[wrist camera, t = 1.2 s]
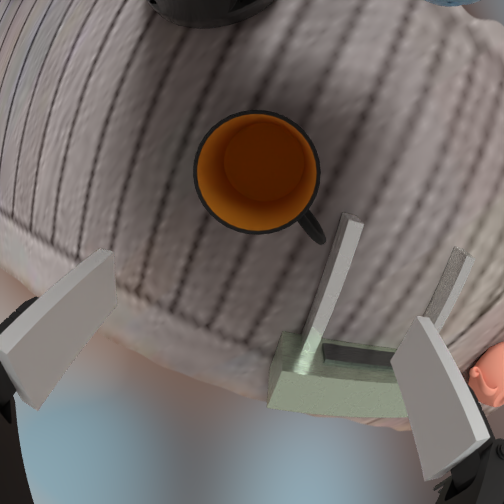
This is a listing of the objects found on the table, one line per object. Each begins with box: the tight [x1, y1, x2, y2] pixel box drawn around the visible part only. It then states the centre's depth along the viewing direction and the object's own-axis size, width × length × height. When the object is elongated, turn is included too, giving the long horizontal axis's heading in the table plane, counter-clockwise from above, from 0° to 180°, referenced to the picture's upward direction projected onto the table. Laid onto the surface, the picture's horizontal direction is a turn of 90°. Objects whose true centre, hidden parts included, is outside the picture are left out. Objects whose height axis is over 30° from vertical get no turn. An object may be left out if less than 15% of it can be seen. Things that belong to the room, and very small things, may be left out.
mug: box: [193, 110, 326, 245], centre depth 23 cm, size 8×12×10 cm
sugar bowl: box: [468, 342, 504, 407], centre depth 30 cm, size 12×14×10 cm
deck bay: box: [267, 212, 475, 418], centre depth 30 cm, size 23×22×7 cm
